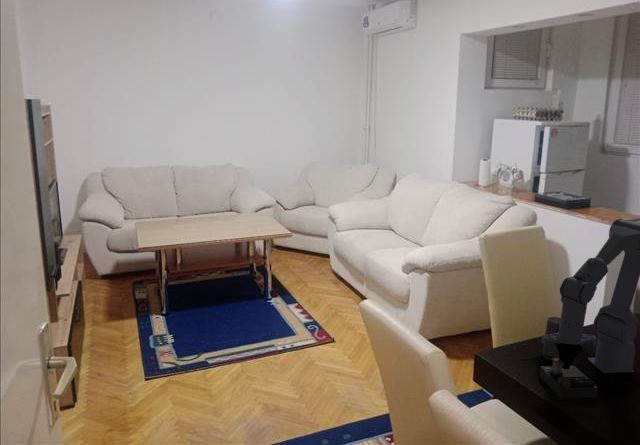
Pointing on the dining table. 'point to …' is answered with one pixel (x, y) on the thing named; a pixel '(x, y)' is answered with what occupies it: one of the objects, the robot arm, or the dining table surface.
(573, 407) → the dining table surface
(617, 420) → the dining table surface
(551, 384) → the breaker box
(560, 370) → the breaker toggle
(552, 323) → the energy drink
